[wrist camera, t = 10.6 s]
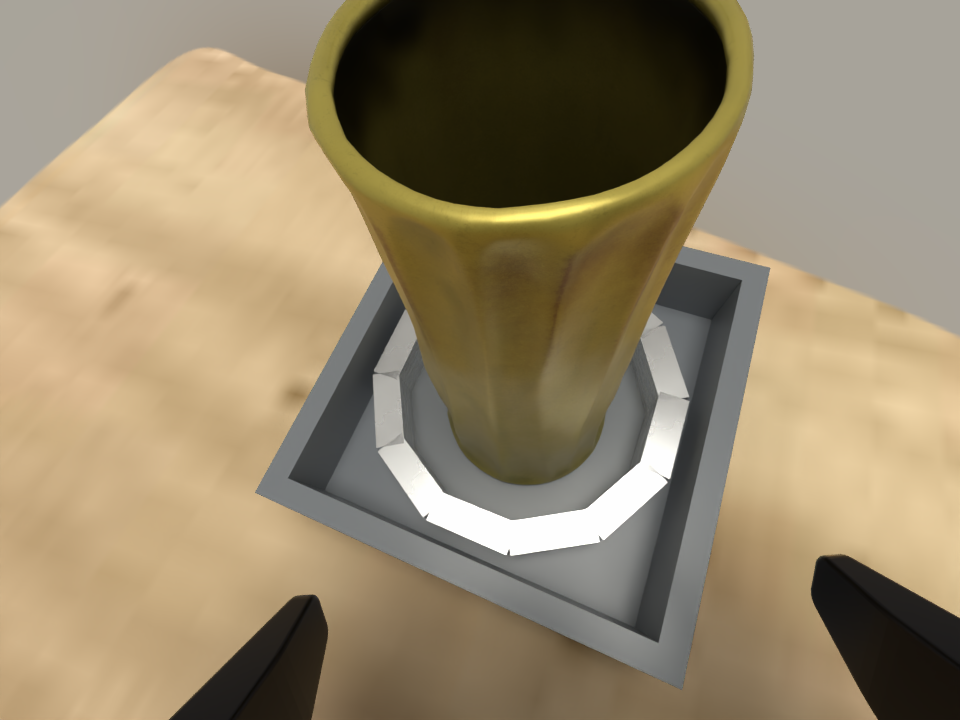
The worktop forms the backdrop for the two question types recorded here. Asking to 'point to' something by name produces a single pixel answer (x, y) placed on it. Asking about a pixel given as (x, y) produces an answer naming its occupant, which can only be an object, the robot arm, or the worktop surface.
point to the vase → (529, 190)
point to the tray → (565, 571)
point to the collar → (592, 525)
